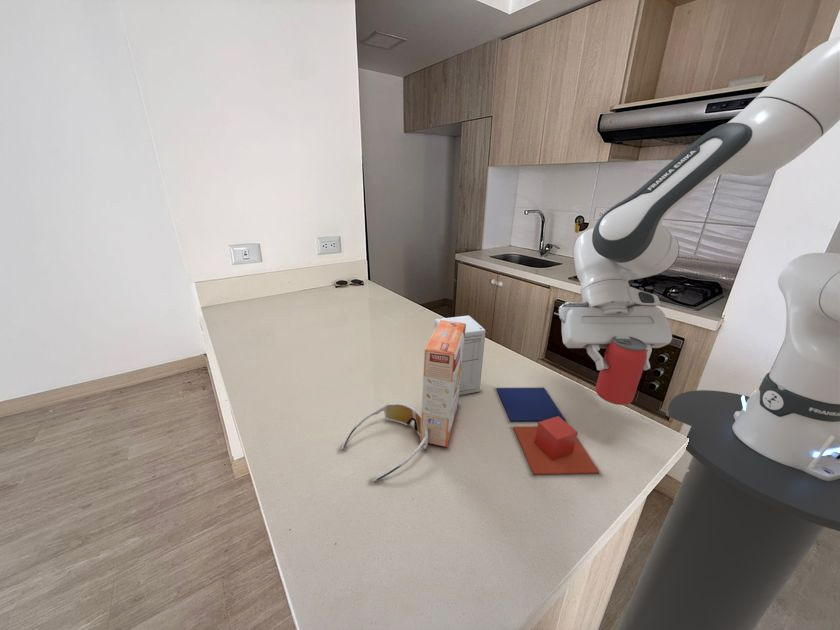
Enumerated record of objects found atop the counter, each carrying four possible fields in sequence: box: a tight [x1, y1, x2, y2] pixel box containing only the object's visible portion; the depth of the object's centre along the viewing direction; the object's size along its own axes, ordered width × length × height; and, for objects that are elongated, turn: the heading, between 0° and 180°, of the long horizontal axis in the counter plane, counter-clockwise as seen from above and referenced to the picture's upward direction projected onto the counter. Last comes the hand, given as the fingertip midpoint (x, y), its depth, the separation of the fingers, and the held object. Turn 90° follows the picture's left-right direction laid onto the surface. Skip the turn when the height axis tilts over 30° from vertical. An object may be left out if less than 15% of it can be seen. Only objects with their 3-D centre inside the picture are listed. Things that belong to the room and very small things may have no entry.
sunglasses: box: [341, 401, 429, 482], centre depth 66 cm, size 14×15×5 cm
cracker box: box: [419, 320, 466, 448], centre depth 68 cm, size 14×6×21 cm, turn 165°
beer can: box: [594, 336, 647, 406], centre depth 65 cm, size 7×7×12 cm
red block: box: [535, 416, 579, 460], centre depth 65 cm, size 5×5×5 cm
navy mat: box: [496, 387, 566, 423], centre depth 79 cm, size 12×12×1 cm
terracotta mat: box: [513, 426, 600, 476], centre depth 66 cm, size 12×12×1 cm
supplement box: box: [433, 314, 487, 396], centre depth 82 cm, size 10×9×17 cm
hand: (624, 369), depth 64 cm, fingers closed on beer can, 6 cm apart
